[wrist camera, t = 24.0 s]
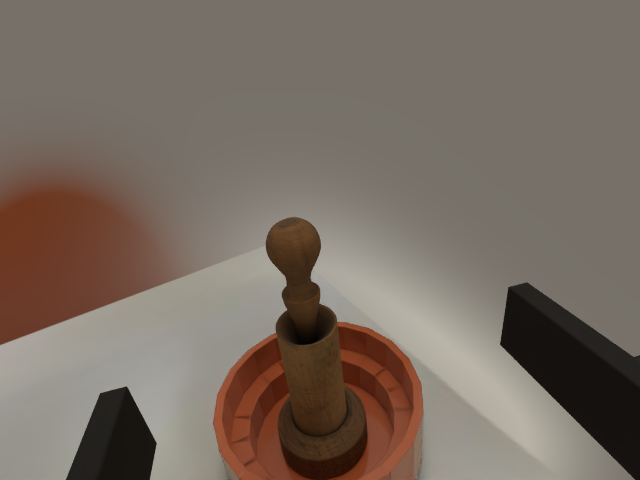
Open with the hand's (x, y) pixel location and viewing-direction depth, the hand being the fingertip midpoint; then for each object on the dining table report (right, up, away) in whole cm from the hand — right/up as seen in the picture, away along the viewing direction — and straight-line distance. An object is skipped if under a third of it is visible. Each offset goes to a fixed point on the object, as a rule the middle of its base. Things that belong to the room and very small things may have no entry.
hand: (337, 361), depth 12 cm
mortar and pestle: (0, -11, +15) cm, 19 cm away
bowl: (0, -11, +15) cm, 19 cm away
